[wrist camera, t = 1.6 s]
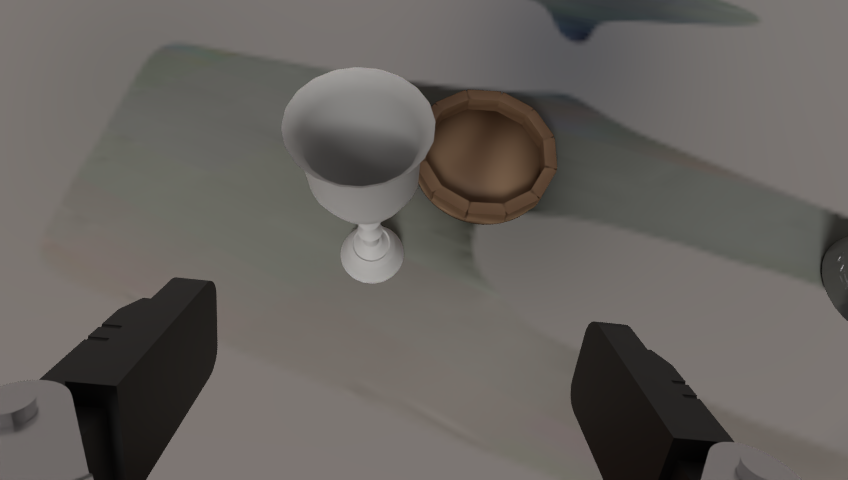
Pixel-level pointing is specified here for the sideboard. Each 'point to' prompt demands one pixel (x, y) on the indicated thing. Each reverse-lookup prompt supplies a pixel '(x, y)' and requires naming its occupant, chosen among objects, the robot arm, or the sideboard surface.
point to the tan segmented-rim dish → (487, 157)
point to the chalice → (361, 157)
